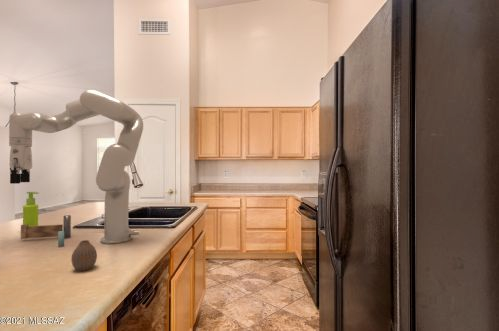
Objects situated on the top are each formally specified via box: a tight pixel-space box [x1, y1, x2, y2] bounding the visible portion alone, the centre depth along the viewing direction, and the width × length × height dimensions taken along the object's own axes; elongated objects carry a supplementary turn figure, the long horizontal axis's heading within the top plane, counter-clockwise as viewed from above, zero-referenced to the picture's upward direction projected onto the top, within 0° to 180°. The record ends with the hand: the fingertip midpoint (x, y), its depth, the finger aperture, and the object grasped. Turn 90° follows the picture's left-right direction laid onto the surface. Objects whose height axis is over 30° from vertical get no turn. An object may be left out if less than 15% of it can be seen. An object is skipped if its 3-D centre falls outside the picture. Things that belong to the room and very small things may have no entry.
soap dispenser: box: [22, 191, 40, 226], centre depth 135 cm, size 6×7×20 cm
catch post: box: [57, 231, 65, 248], centre depth 111 cm, size 2×2×6 cm
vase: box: [71, 239, 98, 272], centre depth 87 cm, size 7×7×9 cm
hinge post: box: [62, 214, 72, 239], centre depth 125 cm, size 3×3×10 cm
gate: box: [20, 223, 63, 240], centre depth 121 cm, size 15×2×6 cm, turn 109°
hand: (20, 182), depth 116 cm, fingers open, 9 cm apart
